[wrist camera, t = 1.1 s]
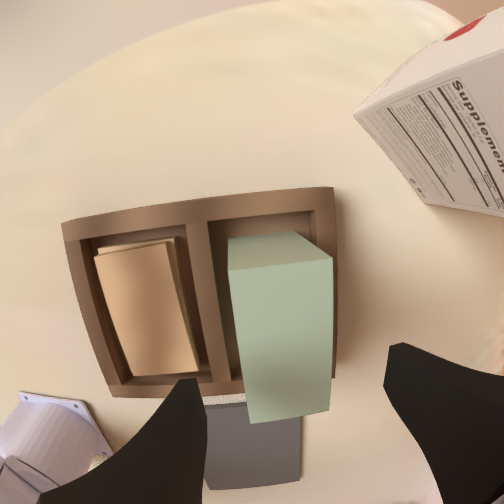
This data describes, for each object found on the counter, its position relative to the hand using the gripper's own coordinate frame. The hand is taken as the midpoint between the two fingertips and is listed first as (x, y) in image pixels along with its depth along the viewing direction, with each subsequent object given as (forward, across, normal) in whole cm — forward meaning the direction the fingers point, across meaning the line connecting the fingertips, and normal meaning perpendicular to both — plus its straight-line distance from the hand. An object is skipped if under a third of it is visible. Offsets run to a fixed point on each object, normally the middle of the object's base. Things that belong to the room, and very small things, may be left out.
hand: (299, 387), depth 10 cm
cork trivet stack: (+9, +8, 0) cm, 12 cm away
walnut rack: (+10, +4, 0) cm, 11 cm away
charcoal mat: (+10, +3, +16) cm, 20 cm away
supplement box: (+10, -13, -11) cm, 20 cm away
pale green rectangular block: (+9, 0, 0) cm, 9 cm away
